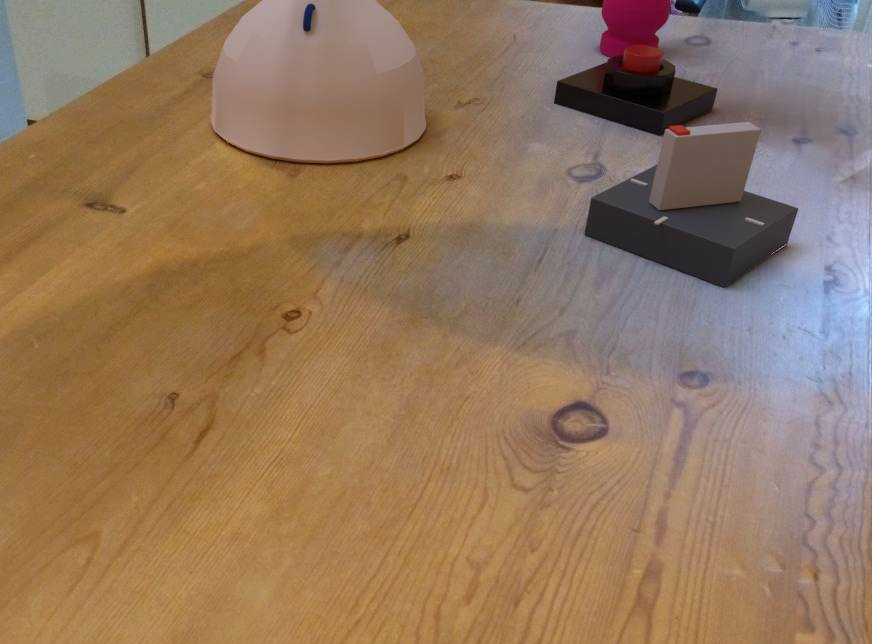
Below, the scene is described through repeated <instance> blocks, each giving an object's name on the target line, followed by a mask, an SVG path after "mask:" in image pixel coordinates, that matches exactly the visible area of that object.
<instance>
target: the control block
mask: <svg viewBox="0 0 872 644" xmlns="http://www.w3.org/2000/svg"><path fill="white" fill-rule="evenodd" d="M623 57H624V55H622V56H615V57H613V58H610V57H609V58H608V59H607V60H606V62H603V63H601V64H598V65H596V66H593V67H590V68H588V69H584V70H582V71H580V72H577V73H574V74H572V75H569V76H567V77H564V78H561V79H559V80H557V81H556V87H555V93H554V99H553V100H554V101H553V104H555V105H557V106H561V107H564V108H567V109H570V110H573V111H576V112H580V113H583V114H587V115H589V116H593V117H595V118H599V119H603V120H606V121H609V122H612V123H615V124H619V125H622V126H625V127H628V128H632V129H635V130H637V131H642V132H644V133H648V134H651V135H654V136H657V137H661V136H664V133H665V129H669V126H676V125H682V126H684V125H686V124H689V123H690V122H692V121H694V120H697V119H699V118H702V116H705V115H707V114H709V113H711V112H712V111H713V109H714V105H715V102H716V97H717V93H718V90H719V89H718V88H717V87H714V86H711V85H706V84H703V83H700V82H695V81H692V80H688V79H684V78H681V77H677V76H676V72H677V71H676V69H677V68H676V67H677V66H676V65H675V64H673V63H671V62H670V61H668V60H666V59H663V58H662V62H661V66H660V71H658V72H648V73H647V72H636V71H631V70H628V69H624V68H623V67H622V62H623Z"/></svg>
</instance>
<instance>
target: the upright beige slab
mask: <svg viewBox="0 0 872 644" xmlns="http://www.w3.org/2000/svg"><path fill="white" fill-rule="evenodd" d="M761 133H762V128H760V127H758V126H757V125H756V124H754V123H752V122H751V121H743V122H742V121H741V122H733V123H732V122H731V123H722V124H721V123H719V124H709V125H698V126H697V125H696V126H686V127H685V126H684V125H676V126H669V129H665V133H664V134H663V137H662V141H661V147H660V150H659V151H660V152H659V156H658V160H657V163H656V165H657V168H656V173H655V177H654V181H653V186H652V190H651V195H650V199H649V203H651V204H652V205H653V206H654V207H656V208H657V209H658V210H667V209H677V208H686V207H695V206H705V205H714V204H723V203H732V202H740V201H741V199H742V195H743V192H744V191H745V187H746V184H747V181H748V178H749V173H750V170H751V166H752V164H753V160H754V157H755V153H756V150H757V146H758V142H759V139H760V135H761Z"/></svg>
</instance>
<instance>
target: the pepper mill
mask: <svg viewBox="0 0 872 644" xmlns="http://www.w3.org/2000/svg"><path fill="white" fill-rule="evenodd" d="M671 4H672V3H671V0H603V2H602V7H601V13H600V14H601V19H602V20H603V22H604V24H605V26H606V27H607V29H606V30H605V31H603V32H602V33H601V38H600V42H599V46H598V47H599V52H600V54H602V55H603V56H605V57H608V58H609V59H610V58H613V57H615V56H622V55H624V52H625V49H626V48H627V47H629V46H633V45H645V46H652V47H656V48H658V47H659V43H660V38H659V36H658V35H657V34H656V33H657V32H658V31H659V30H660V29H661V28H663V27H664V26H665V24H666V23H667V22H668V20H669V18H670V12H671ZM658 49H659V48H658Z"/></svg>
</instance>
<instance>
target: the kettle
mask: <svg viewBox="0 0 872 644" xmlns="http://www.w3.org/2000/svg"><path fill="white" fill-rule="evenodd" d="M211 87H212V88H211V89H212V90H211V91H212V92H211V96H212V97H211V116H210V118H209V121H210V123H211V126H212V129H213V131H214V132H215V133H216V134H217V135H218V136H220V137H221V138H222V139H223V140H224V141H225V140H226V141H225V142H227V143H228V144H229V143H230V144H229V145H231V144H232V145H231V146H233V145H234V146H233V147H235V146H236V148H237V149H240V150H241V151H244V152H246V153H250V154H254V155H257V156H261V157H265V158H268V159H273V160H279V161H280V160H281V161H286V162H292V163H293V162H294V163H305V164H306V163H308V164H339V163H341V164H342V163H354V162H355V163H357V162H361V161H367V160H372V159H379V158H383V157H385V156H389V155H391V154H394V153H397V152H400V151H403V150H404V149H406V148H408V147H409V146H411V145H412V144H414V143H415V142H417V141H418V140H419V139H420V138H421V136H422V135H423V134H424V132H425V130H426V129H427V120H426V113H425V112H426V101H425V100H426V99H425V98H426V97H425V96H426V93H425V74H424V71H423V67H422V63H421V60H420V58H419V54H418V51H417V47H416V45H415V44H414V43H413V41H412V40H411V38H410V37H409V35H408V34H407V32H406V31H405V29H404V28H403V26H402V24H401V23H400V22H399V21H398V19H396V18H395V16H394V15H392V14H391V13H390V12H389V11H388V10H387V9H386V8H384V7H383V6H382V5H381V4H380V3H379V2H378V1H377V0H261V1H259V2H258V3H257V4H256V5H254V6H253V7H252V8H251V9H250V10H249V11H247V12H246V13H245V14H243V16H242V17H241V18H240V19H239V21H238V22H237V23H236V25H235V26H234V27H233V29H232V30H231V32H230V33H229V34H228V35H227V37H226V38H225V40H224V43H223V45H222V49H221V51H220V54H219V57H218V60H217V63H216V65H215V68H214V72H213V74H212V86H211Z"/></svg>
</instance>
